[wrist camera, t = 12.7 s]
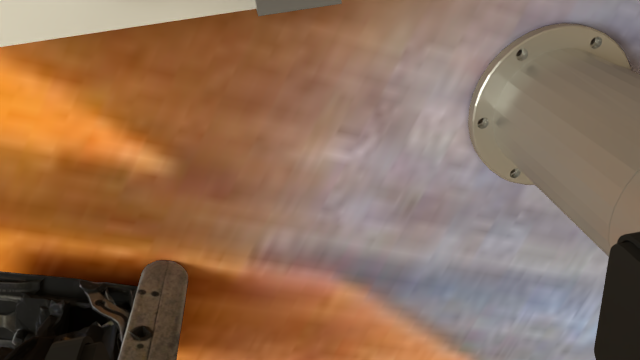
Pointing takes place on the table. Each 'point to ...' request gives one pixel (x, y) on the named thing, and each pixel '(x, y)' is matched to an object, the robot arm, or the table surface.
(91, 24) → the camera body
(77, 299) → the vintage camera
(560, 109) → the robot arm
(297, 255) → the table surface
